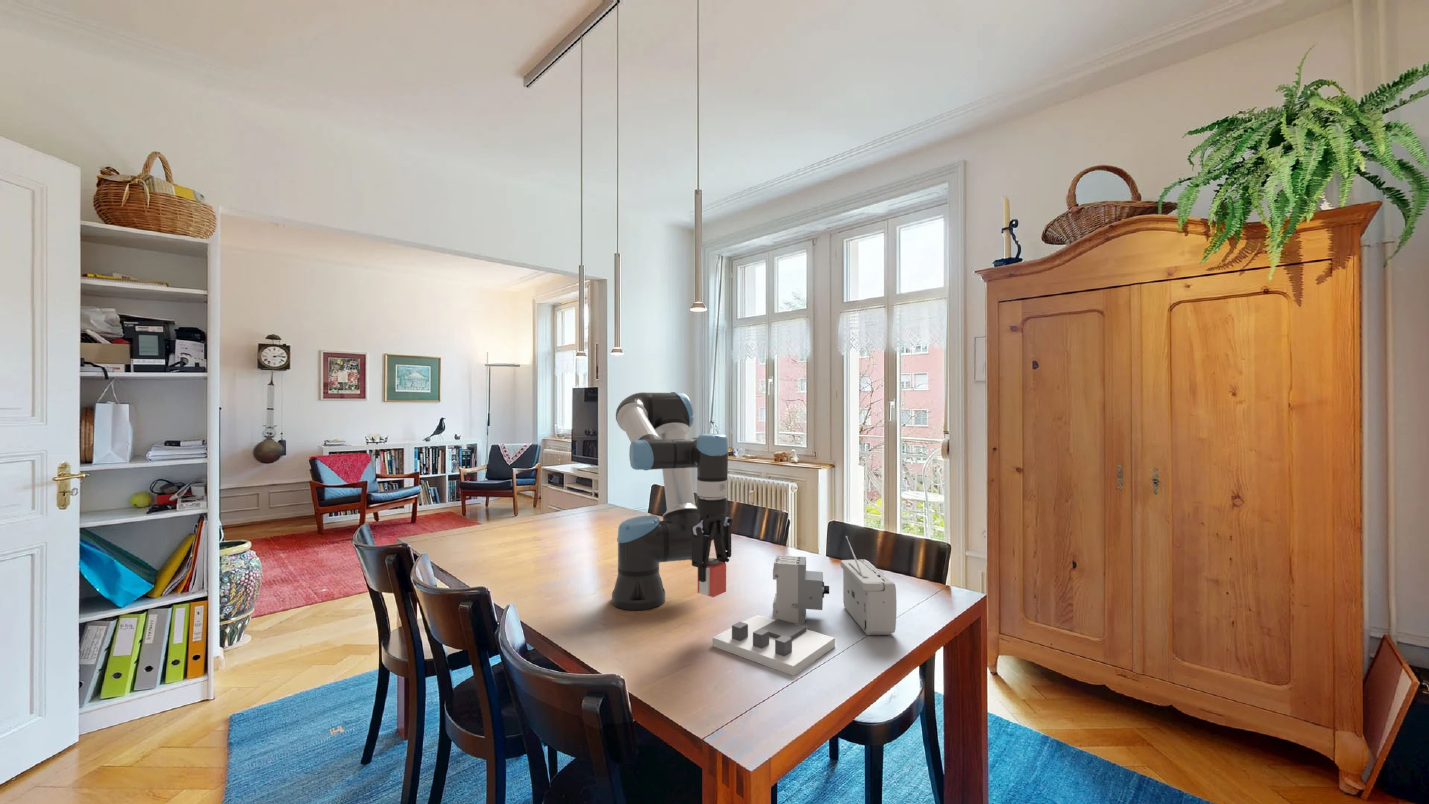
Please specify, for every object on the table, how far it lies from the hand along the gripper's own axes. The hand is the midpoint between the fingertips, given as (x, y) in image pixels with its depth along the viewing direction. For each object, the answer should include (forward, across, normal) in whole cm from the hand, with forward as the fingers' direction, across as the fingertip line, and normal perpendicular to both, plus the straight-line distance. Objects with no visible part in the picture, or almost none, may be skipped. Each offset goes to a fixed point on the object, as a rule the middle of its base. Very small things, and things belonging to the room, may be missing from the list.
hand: (712, 590), depth 140 cm
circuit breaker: (+10, +22, -12) cm, 27 cm away
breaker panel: (+10, +3, -16) cm, 19 cm away
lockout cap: (0, 0, 0) cm, 0 cm away
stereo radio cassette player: (+10, +31, -26) cm, 42 cm away
